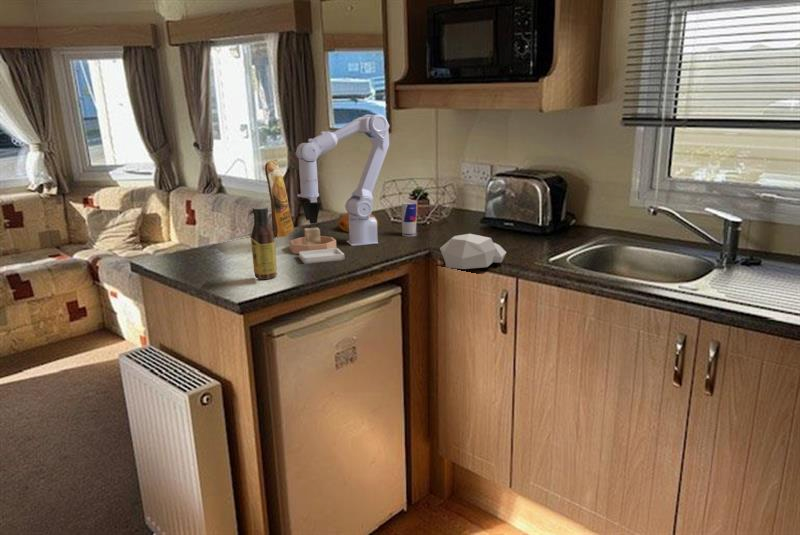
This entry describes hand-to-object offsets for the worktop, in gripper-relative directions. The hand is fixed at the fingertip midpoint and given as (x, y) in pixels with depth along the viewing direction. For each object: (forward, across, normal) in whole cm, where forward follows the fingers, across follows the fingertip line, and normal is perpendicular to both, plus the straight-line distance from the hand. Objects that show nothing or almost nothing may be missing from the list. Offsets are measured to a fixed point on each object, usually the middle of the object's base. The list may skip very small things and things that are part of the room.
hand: (311, 221), depth 200 cm
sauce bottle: (+10, +31, -19) cm, 37 cm away
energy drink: (+10, -8, +37) cm, 39 cm away
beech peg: (+10, 0, 0) cm, 10 cm away
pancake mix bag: (+10, -29, -7) cm, 31 cm away
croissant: (+10, -25, +22) cm, 34 cm away
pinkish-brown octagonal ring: (+9, 0, 0) cm, 9 cm away
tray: (+9, +14, 0) cm, 17 cm away
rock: (+10, +40, +41) cm, 58 cm away
